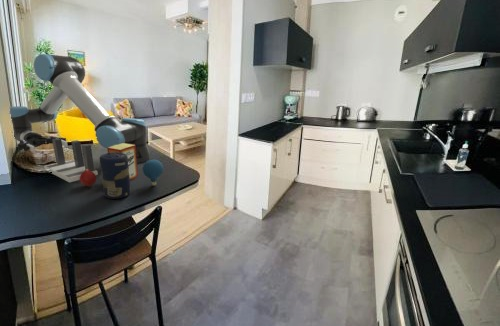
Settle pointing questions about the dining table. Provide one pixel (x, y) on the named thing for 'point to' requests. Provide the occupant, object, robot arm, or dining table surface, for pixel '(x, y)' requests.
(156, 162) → the light bulb
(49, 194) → the dining table surface
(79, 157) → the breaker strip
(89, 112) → the robot arm
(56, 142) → the block
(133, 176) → the baking soda box
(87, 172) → the pomegranate
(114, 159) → the dark blue cylinder
